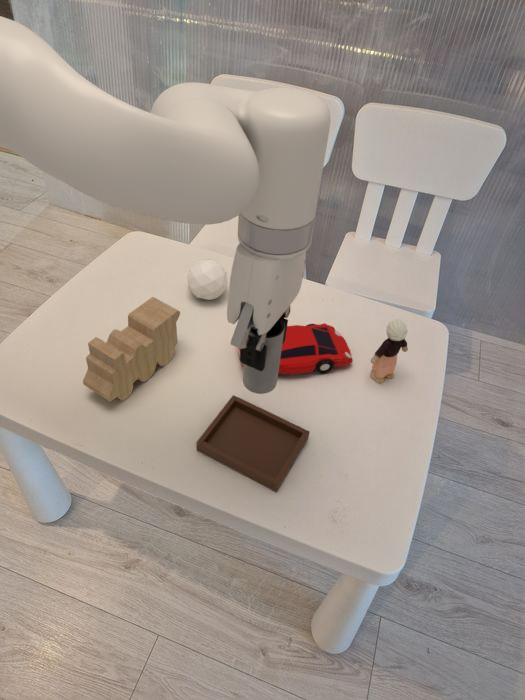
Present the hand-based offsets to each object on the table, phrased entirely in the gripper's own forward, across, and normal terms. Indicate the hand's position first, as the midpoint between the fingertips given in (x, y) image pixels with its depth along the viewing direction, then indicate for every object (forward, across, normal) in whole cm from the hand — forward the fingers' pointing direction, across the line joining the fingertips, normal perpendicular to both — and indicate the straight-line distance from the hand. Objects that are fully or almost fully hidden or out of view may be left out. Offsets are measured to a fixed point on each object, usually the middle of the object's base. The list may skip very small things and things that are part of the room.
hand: (262, 351), depth 65 cm
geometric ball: (+21, -26, -25) cm, 42 cm away
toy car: (+21, -20, -3) cm, 29 cm away
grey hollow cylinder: (+6, 0, 0) cm, 6 cm away
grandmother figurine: (+21, -24, +12) cm, 34 cm away
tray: (+21, 0, 0) cm, 21 cm away
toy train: (+21, -2, -24) cm, 32 cm away
